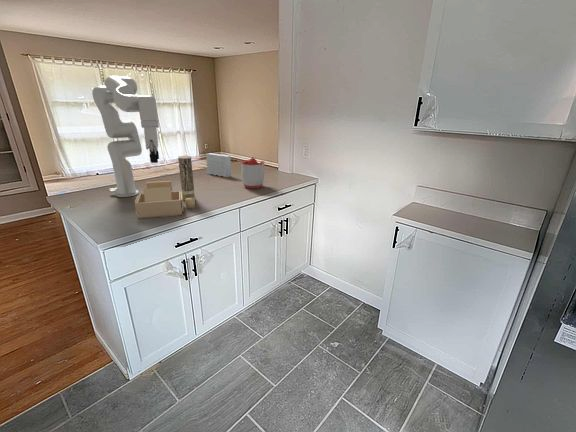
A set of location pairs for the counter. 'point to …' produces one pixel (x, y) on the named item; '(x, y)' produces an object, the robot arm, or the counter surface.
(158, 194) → the near flap
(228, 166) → the skincare box
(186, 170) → the paper tube
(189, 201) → the white-capped tan cylinder
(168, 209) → the carton
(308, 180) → the counter surface
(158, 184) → the far flap
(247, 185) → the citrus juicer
